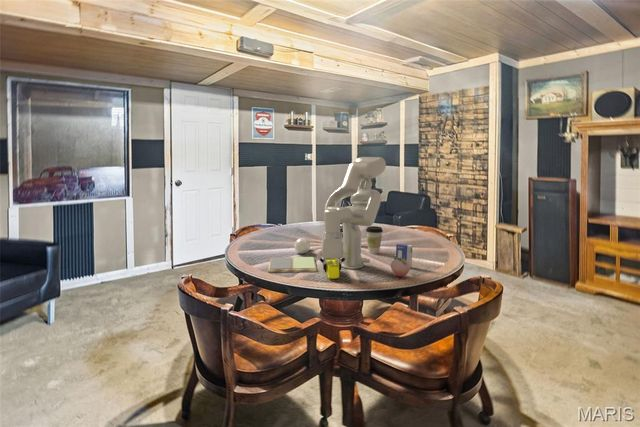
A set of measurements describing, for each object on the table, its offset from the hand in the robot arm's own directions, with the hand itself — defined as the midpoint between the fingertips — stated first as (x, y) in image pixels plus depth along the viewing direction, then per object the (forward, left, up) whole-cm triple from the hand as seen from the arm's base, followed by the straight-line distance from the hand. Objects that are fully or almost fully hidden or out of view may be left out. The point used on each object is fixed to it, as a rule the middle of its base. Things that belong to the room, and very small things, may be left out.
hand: (332, 271), depth 190 cm
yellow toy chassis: (0, -2, -2) cm, 3 cm away
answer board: (+19, -18, -2) cm, 26 cm away
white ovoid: (+13, -44, -3) cm, 46 cm away
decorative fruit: (-33, +3, -3) cm, 33 cm away
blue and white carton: (-39, -13, -3) cm, 41 cm away
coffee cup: (-29, -41, -3) cm, 50 cm away
